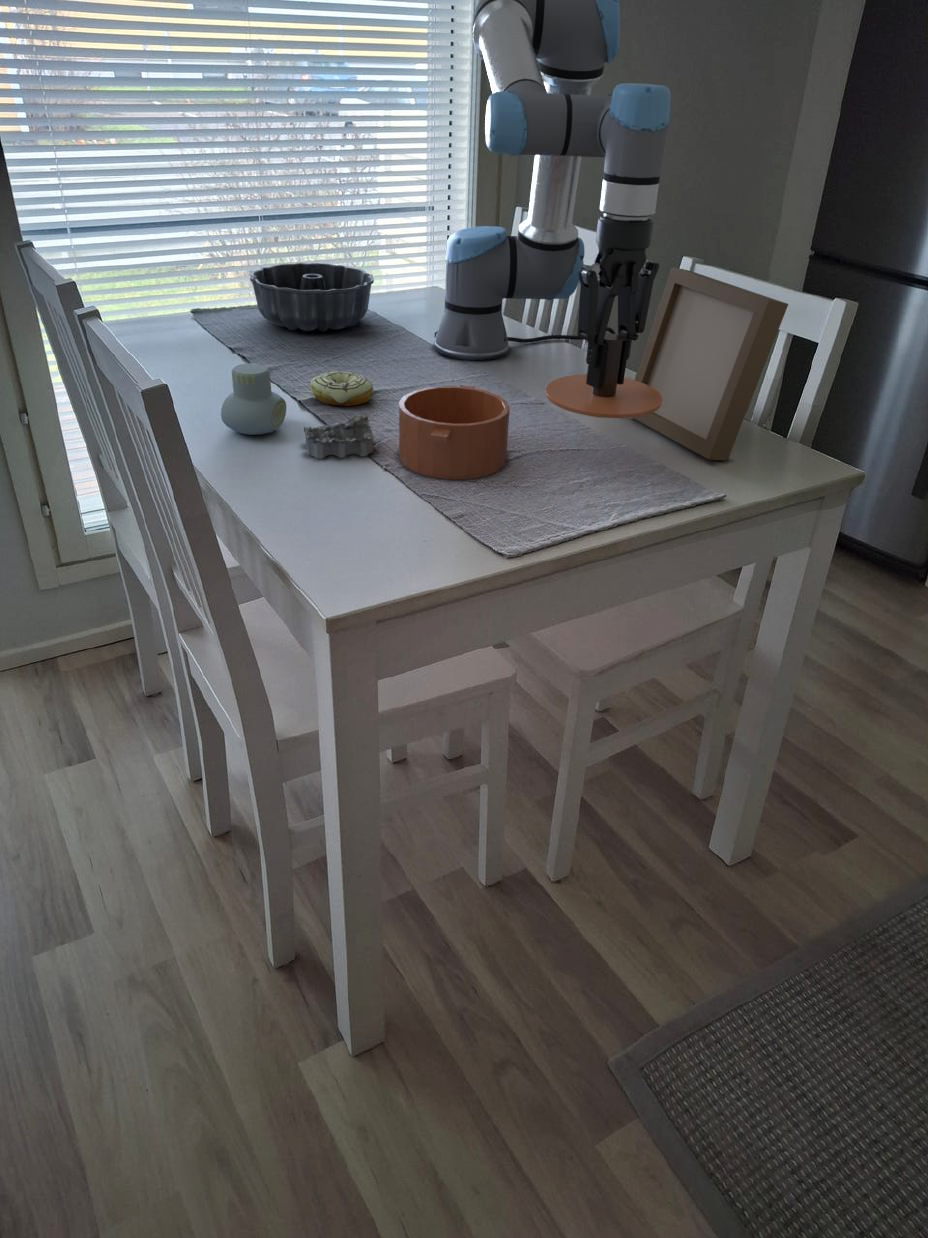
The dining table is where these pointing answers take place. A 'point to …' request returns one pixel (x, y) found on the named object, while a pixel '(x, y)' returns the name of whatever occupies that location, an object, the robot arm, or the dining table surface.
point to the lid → (605, 390)
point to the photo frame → (706, 359)
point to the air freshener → (253, 402)
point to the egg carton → (340, 439)
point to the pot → (453, 432)
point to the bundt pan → (312, 295)
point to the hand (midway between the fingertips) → (604, 383)
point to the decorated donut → (341, 388)
